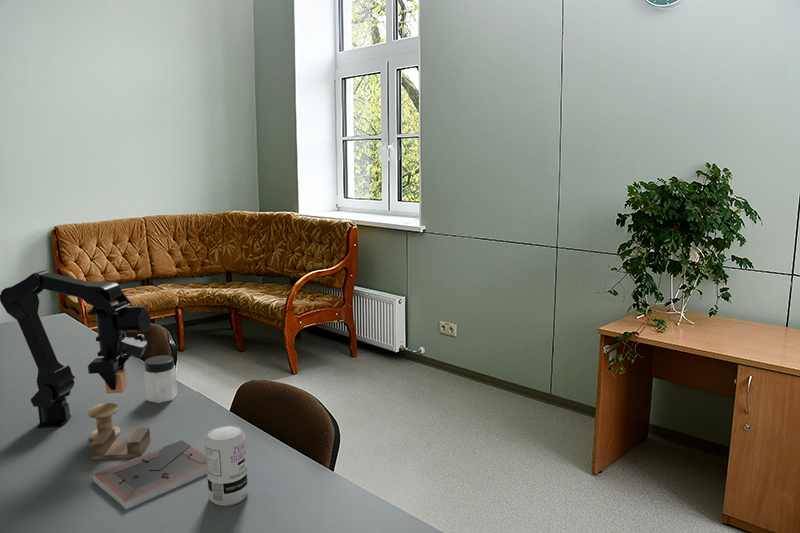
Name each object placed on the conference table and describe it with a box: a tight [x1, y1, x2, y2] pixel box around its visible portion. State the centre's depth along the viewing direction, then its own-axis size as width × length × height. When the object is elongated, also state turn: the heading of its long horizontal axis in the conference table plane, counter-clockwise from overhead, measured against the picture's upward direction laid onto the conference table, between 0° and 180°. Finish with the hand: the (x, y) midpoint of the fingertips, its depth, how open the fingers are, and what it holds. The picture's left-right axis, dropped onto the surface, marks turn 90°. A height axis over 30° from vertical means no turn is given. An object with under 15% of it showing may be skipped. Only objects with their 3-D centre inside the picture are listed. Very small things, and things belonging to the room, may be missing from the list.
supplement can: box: [204, 424, 249, 507], centre depth 130 cm, size 8×8×15 cm
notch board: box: [89, 426, 151, 461], centre depth 151 cm, size 12×8×4 cm
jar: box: [143, 355, 178, 404], centre depth 182 cm, size 9×8×12 cm
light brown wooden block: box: [104, 369, 128, 394], centre depth 162 cm, size 4×4×5 cm
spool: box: [87, 402, 121, 441], centre depth 158 cm, size 7×7×8 cm
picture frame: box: [92, 439, 207, 510], centre depth 140 cm, size 16×2×22 cm
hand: (116, 386), depth 162 cm, fingers closed on light brown wooden block, 4 cm apart
